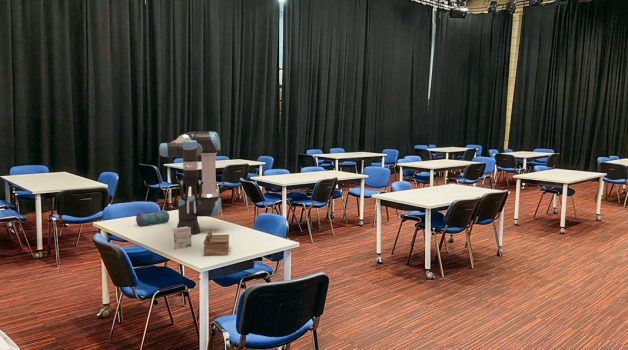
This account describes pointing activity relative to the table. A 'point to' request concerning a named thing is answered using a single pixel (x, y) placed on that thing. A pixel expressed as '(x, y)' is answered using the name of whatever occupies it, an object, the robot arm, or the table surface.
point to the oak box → (216, 249)
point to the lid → (216, 238)
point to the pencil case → (152, 218)
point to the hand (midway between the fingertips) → (191, 212)
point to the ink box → (182, 237)
